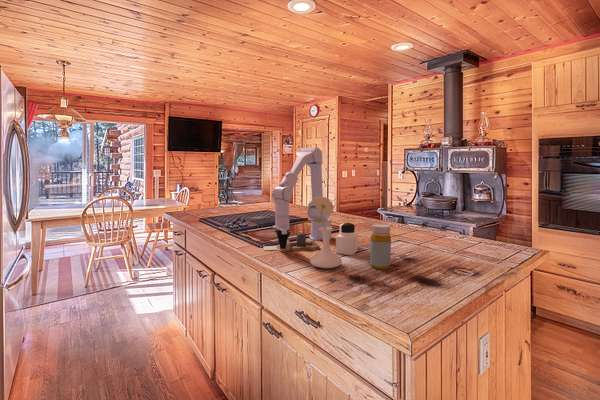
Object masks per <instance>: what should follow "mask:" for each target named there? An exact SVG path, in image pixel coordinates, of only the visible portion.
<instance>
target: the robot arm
mask: <svg viewBox="0 0 600 400" xmlns="http://www.w3.org/2000/svg"><path fill="white" fill-rule="evenodd" d="M295 156H296V160H295V162H294V163H293V165H292V168H291V169H290V171H287V172H286V173H285V174H284V176H283V177H282V180H281V181H280V183H279V184H278V185H277V186H275V187H274V188H273V190H272V193H271V196H272V197H271V198H273V203H274V205H275V206H274V207H275V208H274V209H275V210H274V213H275V216H274V217H275V221H274V223H275V225H272V229H275V230H274V231H275V234H276V236H277V241H278V245H279V244H280V248H281V249H286V244H287V240H289V236H290V235H291V232H290V230H289V229H290V228H291V226H290V200H291V199H292V197H293V191H294V187H295V186H296V184H297V182H298V181H299V177H298V175H299V174H300V173H301V172H302V171H303V168H304V167H305V165H307V166H308V167H309V170H310V188H311V201H310V202H309V203H308V205H307V213H306V214H307V217H308V218H309V220H310V235H308V237H309V239H310V240H311V241H321V240H322V241H323V236H322V232H321V230H320V229H319V228H320V227H324V226H325V227H332V221H331V222H329V223H327V224H325V223H326V222H327V221H330V220H331V219H329V218H330V215H331V214H329V213H328V214H324V213H323V212H322V214H321V212H320V211H319V210H318V209H317V208H316V206H315V205H314V203H315V202H314V201H315V200H314V199H316V198H317V197H318V196H322V197H323V198H324V188H323V170H322V169H323V168H322V165H323V163H324V162H323V151H322V150H321V149H320V147H318V146H317V147H299V148H298V150H297V152H296V155H295ZM320 214H321V220H322V222H323V224H324V226H323V224H322V222H320V223H318V222H315V221H313V220H314V218H315V217H318V218H319V219H320ZM329 240H332V233H331V234H330V239H329Z"/></svg>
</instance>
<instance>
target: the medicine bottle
mask: <svg viewBox="0 0 600 400" xmlns="http://www.w3.org/2000/svg"><path fill="white" fill-rule="evenodd" d="M355 231H356V227H355V223H352V222H343V223H340V224H339V234H338V235H336V237H335V254H338V255H345V256H346V255H347V256H353V255H355V254H356V252H358V241H359V239H358V238H359V237H358V234H356V233H355Z"/></svg>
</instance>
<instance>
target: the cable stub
mask: <svg viewBox="0 0 600 400" xmlns="http://www.w3.org/2000/svg"><path fill="white" fill-rule="evenodd" d="M306 241H307V234H306V233H305V232H298V233H296V242H297V245H296V247H304V246H307V245H306Z"/></svg>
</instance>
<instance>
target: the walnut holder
mask: <svg viewBox="0 0 600 400" xmlns="http://www.w3.org/2000/svg"><path fill="white" fill-rule="evenodd" d="M289 242H290V251H292V252H294V251H297V252H298V251H314V250H316V251H317V250H319V251H320V250H321V249H320V248H321V247H320V245H319V244H318V243H317V241H316V240H311V241H309V240H308V241H307V240H306V246H304V247H297V241H289Z"/></svg>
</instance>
